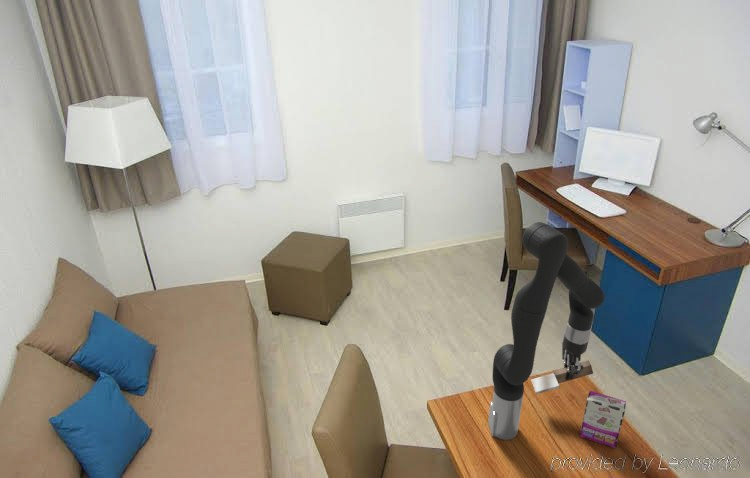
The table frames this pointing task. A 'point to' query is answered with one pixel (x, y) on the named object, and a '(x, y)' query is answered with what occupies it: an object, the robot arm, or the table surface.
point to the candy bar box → (602, 419)
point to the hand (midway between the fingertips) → (567, 376)
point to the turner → (558, 378)
